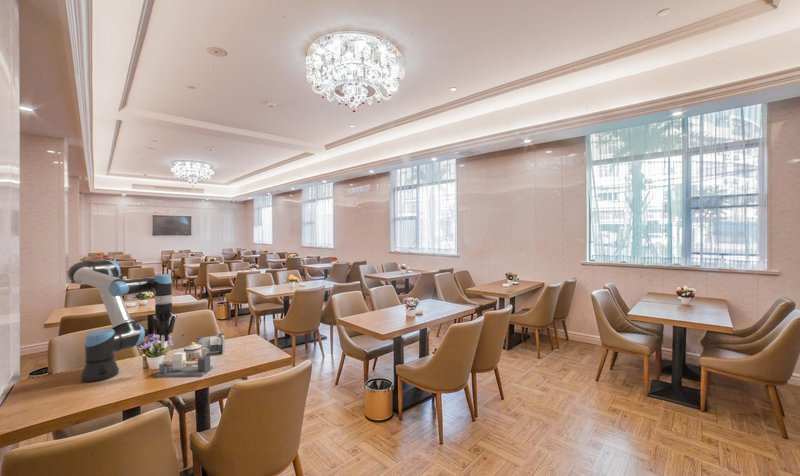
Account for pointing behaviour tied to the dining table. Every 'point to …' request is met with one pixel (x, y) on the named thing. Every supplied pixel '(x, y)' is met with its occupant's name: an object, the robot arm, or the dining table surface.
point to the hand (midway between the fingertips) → (164, 346)
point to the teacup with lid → (193, 352)
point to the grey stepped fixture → (186, 368)
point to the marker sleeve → (178, 360)
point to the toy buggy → (212, 344)
